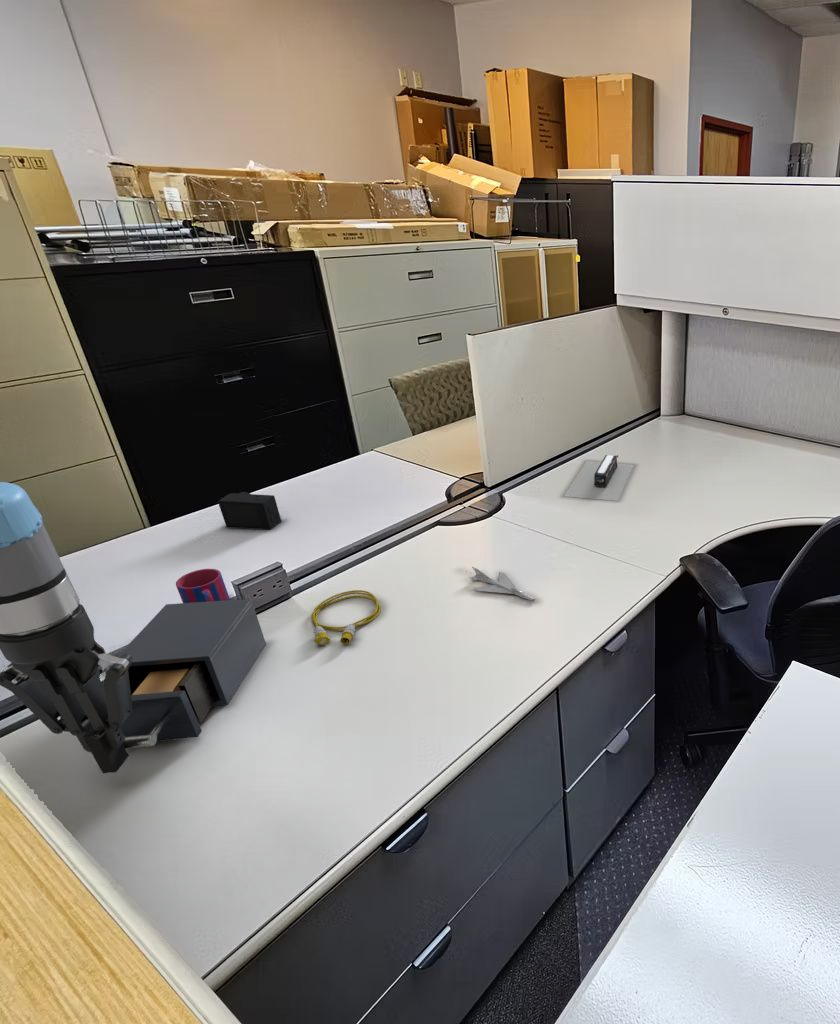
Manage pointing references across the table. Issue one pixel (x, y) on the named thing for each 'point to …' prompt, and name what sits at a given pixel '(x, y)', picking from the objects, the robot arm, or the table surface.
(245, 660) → the cabinet
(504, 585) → the toy airplane
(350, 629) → the extension cord
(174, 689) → the block
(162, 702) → the drawer
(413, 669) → the table surface
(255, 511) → the digital camera
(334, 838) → the table surface
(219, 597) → the mug
